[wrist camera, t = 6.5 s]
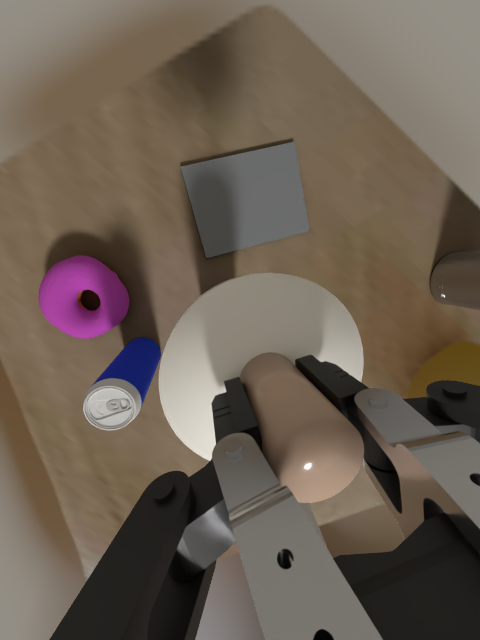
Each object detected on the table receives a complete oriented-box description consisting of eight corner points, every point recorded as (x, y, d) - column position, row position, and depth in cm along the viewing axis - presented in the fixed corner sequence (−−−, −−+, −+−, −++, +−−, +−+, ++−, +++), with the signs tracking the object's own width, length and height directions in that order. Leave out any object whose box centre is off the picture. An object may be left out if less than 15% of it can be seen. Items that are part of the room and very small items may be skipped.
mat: (292, 143, 34) (294, 141, 34) (307, 231, 37) (309, 231, 37) (180, 168, 33) (180, 166, 32) (206, 258, 36) (206, 258, 35)
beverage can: (130, 371, 37) (88, 438, 23) (121, 339, 36) (72, 389, 22) (164, 364, 38) (144, 426, 24) (157, 333, 37) (132, 378, 23)
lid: (338, 249, 12) (472, 237, 6) (360, 420, 14) (469, 525, 9) (131, 304, 11) (57, 351, 5) (195, 479, 13) (195, 642, 8)
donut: (87, 344, 36) (72, 355, 31) (33, 286, 33) (8, 289, 29) (146, 304, 36) (139, 310, 32) (97, 243, 33) (82, 240, 29)
